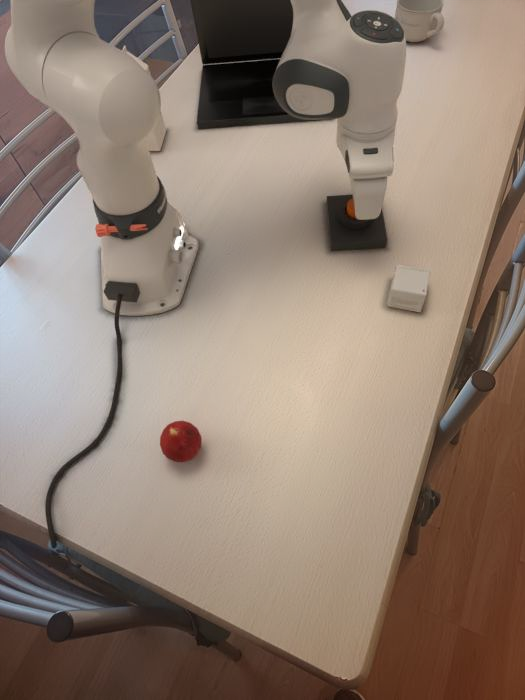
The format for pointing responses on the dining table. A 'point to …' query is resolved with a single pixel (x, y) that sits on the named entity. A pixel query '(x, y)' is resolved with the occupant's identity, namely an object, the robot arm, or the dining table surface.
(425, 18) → the teacup
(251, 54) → the laptop screen
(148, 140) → the milk carton
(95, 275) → the dining table surface
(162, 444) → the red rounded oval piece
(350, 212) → the switch button
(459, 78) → the dining table surface
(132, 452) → the dining table surface
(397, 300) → the small box
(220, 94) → the laptop
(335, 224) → the switch block
